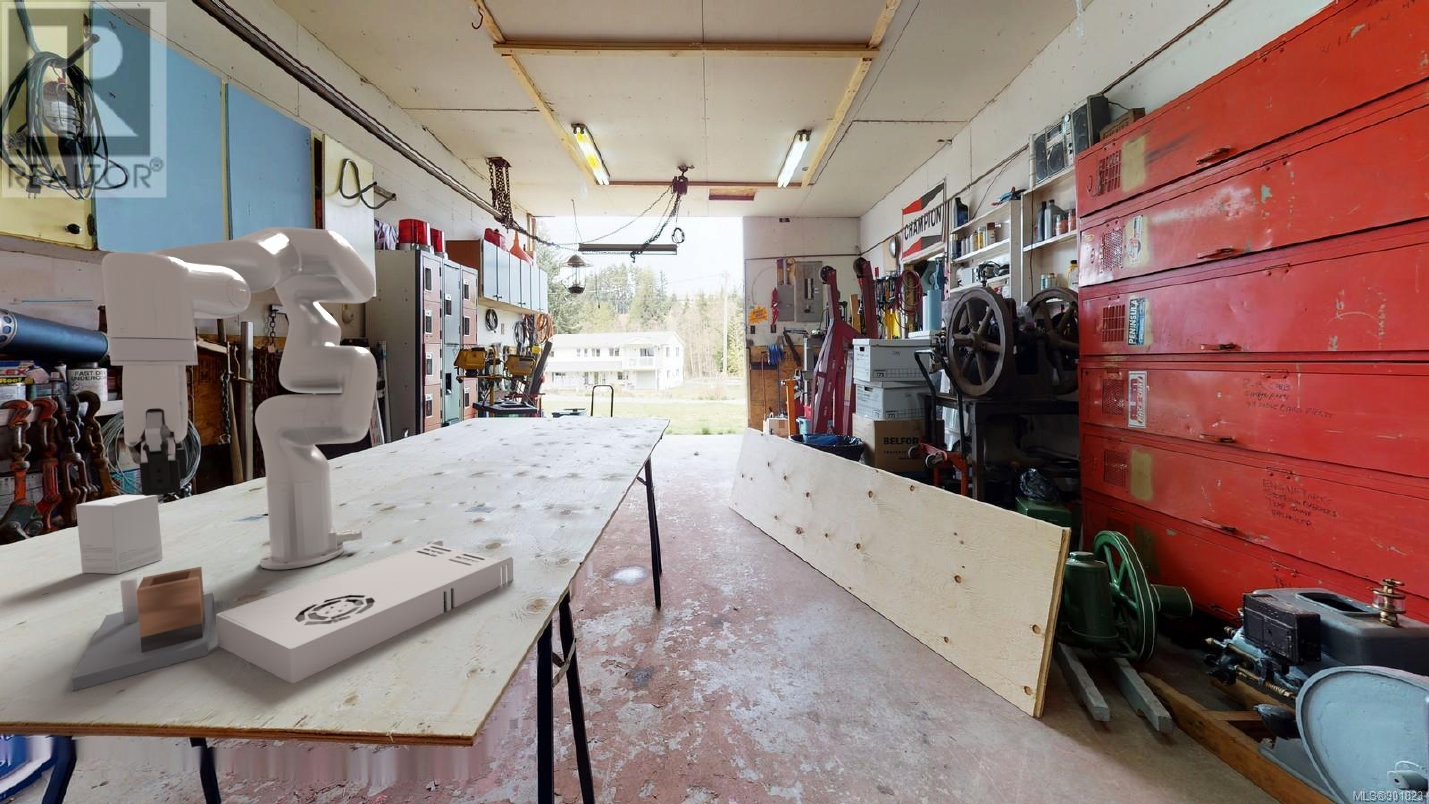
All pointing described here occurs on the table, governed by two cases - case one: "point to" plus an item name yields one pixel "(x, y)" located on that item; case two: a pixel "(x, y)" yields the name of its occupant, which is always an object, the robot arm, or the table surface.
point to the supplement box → (119, 533)
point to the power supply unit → (355, 609)
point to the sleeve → (171, 608)
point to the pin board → (133, 644)
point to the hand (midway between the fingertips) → (166, 486)
